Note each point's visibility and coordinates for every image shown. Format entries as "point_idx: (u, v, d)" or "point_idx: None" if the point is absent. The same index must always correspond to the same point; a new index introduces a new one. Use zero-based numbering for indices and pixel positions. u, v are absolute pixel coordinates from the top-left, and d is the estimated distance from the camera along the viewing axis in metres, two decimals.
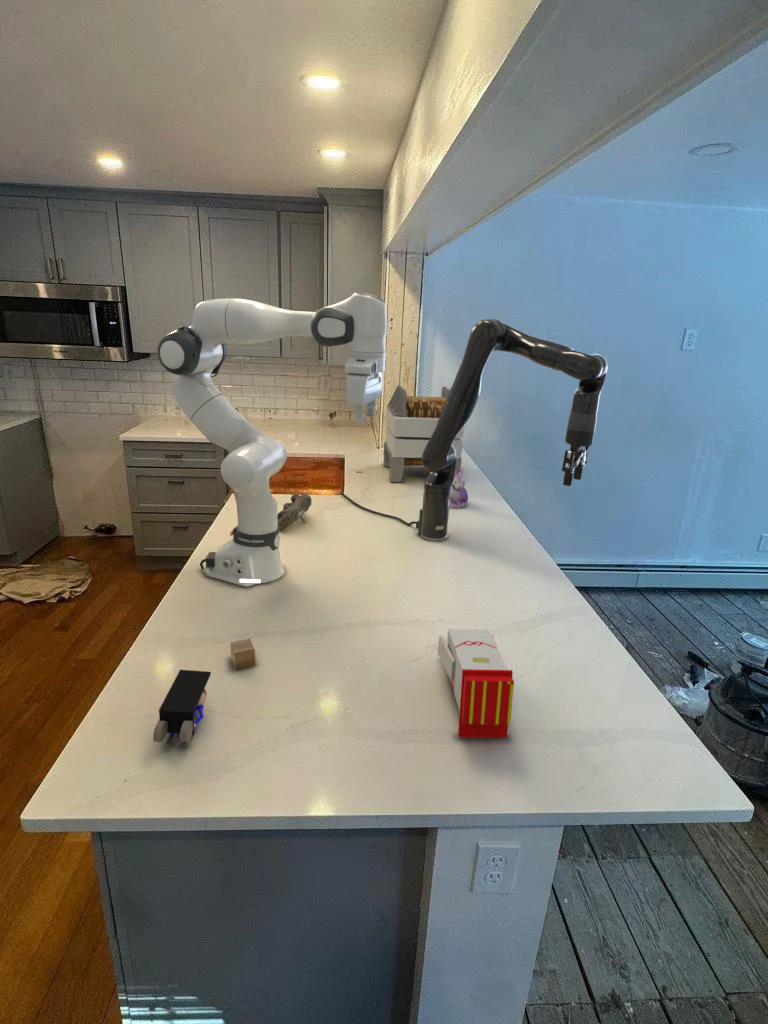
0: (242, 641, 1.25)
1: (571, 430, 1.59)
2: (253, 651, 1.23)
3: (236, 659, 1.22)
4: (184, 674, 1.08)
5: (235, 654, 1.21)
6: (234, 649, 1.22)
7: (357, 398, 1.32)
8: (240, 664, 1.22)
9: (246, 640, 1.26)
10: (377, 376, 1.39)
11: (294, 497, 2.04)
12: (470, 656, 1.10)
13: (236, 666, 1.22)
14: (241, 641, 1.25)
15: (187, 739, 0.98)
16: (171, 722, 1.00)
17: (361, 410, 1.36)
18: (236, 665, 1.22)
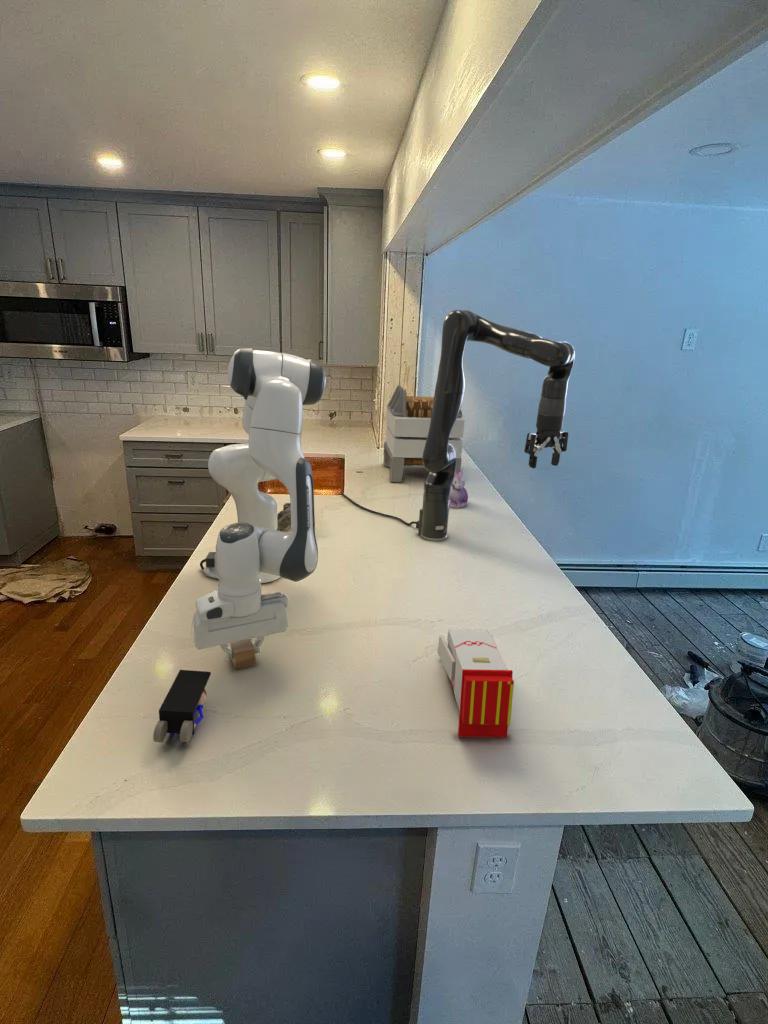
0: (242, 641, 1.25)
1: (538, 415, 1.66)
2: (253, 651, 1.23)
3: (236, 659, 1.22)
4: (184, 674, 1.08)
5: (235, 654, 1.21)
6: (234, 649, 1.22)
7: (193, 639, 1.17)
8: (240, 664, 1.22)
9: (246, 640, 1.26)
10: (239, 618, 1.18)
11: None
12: (470, 656, 1.10)
13: (236, 666, 1.22)
14: (241, 641, 1.25)
15: (187, 739, 0.98)
16: (171, 722, 1.00)
17: (221, 648, 1.21)
18: (236, 665, 1.22)
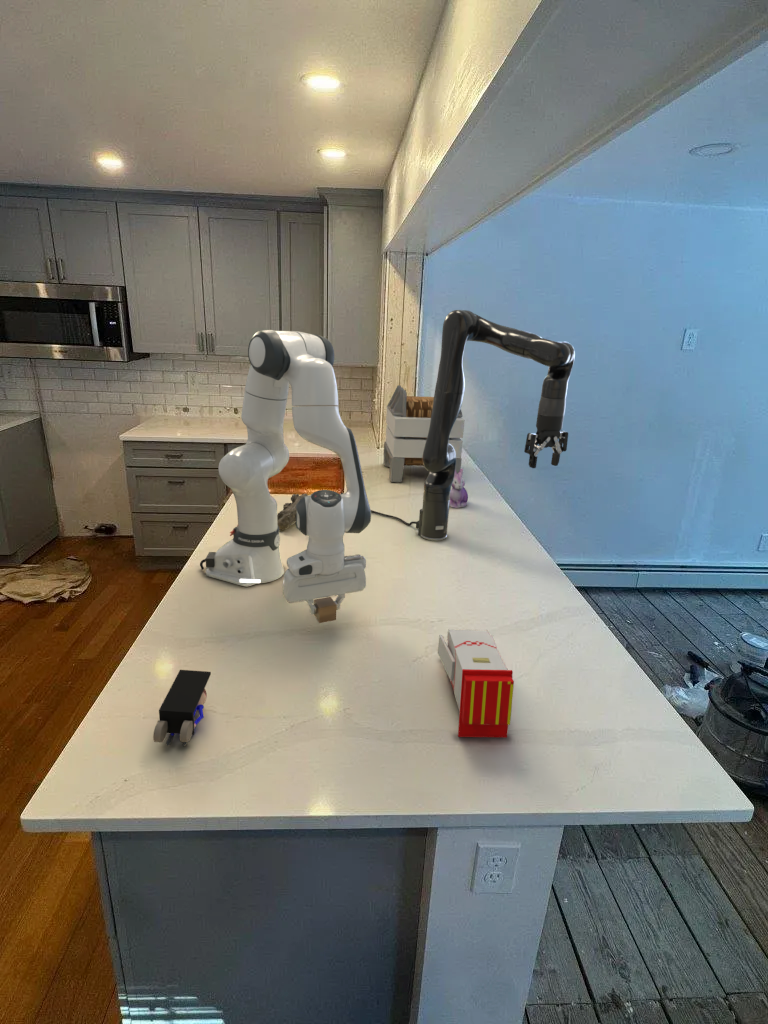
0: (324, 598, 1.39)
1: (538, 415, 1.66)
2: (335, 607, 1.36)
3: (320, 613, 1.35)
4: (184, 674, 1.08)
5: (320, 609, 1.35)
6: (318, 605, 1.36)
7: (285, 594, 1.31)
8: (323, 618, 1.36)
9: (328, 598, 1.39)
10: (326, 576, 1.32)
11: (294, 497, 2.04)
12: (470, 656, 1.10)
13: (320, 620, 1.36)
14: (323, 598, 1.39)
15: (187, 739, 0.98)
16: (171, 722, 1.00)
17: (308, 603, 1.34)
18: (320, 619, 1.36)
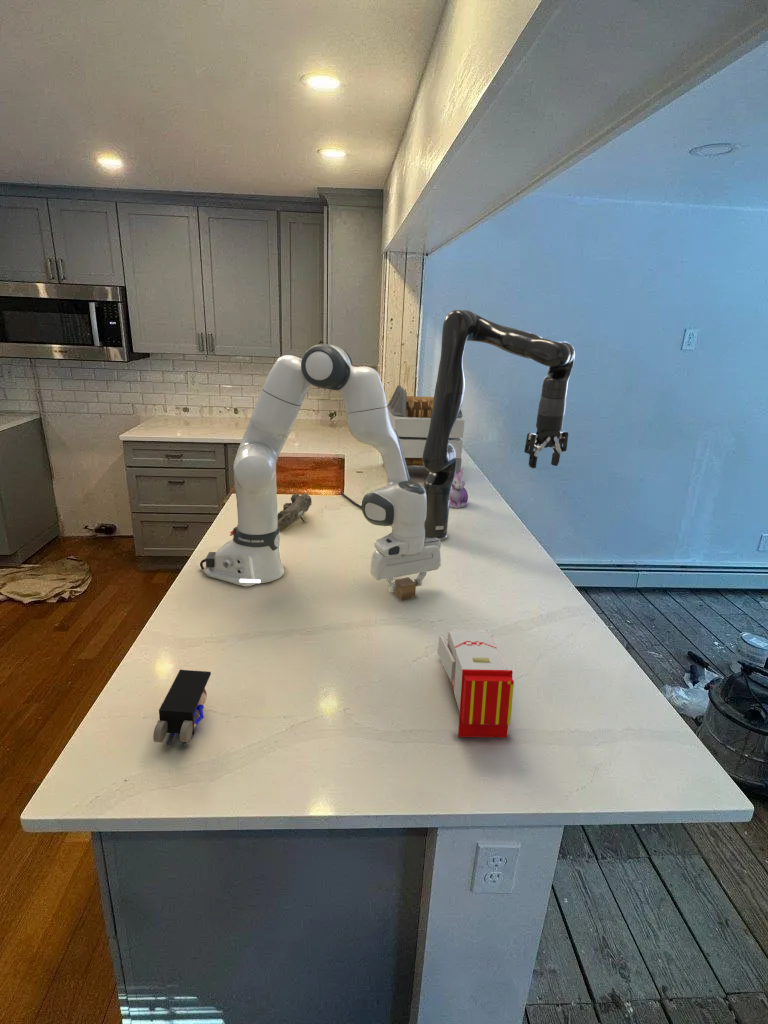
0: (404, 579, 1.57)
1: (538, 415, 1.66)
2: (415, 586, 1.55)
3: (402, 591, 1.54)
4: (184, 674, 1.08)
5: (402, 587, 1.53)
6: (400, 584, 1.54)
7: (374, 572, 1.49)
8: (405, 596, 1.55)
9: (406, 578, 1.58)
10: (409, 556, 1.50)
11: (294, 497, 2.04)
12: (470, 656, 1.10)
13: (402, 597, 1.54)
14: (403, 579, 1.57)
15: (187, 739, 0.98)
16: (171, 722, 1.00)
17: (388, 581, 1.52)
18: (402, 596, 1.54)
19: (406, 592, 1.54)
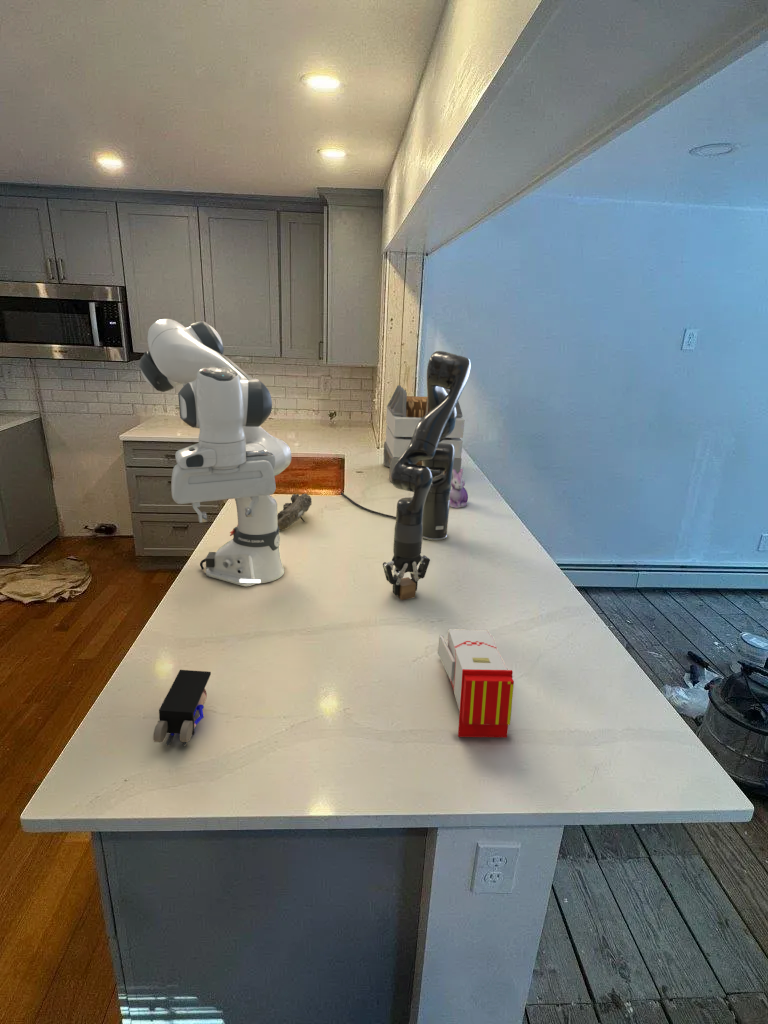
0: (404, 579, 1.57)
1: (394, 539, 1.51)
2: (415, 586, 1.55)
3: (402, 591, 1.54)
4: (184, 674, 1.08)
5: (402, 587, 1.53)
6: (400, 584, 1.54)
7: (172, 493, 1.09)
8: (405, 596, 1.55)
9: (406, 578, 1.58)
10: (222, 471, 1.09)
11: (294, 497, 2.04)
12: (470, 656, 1.10)
13: (402, 597, 1.54)
14: (403, 579, 1.57)
15: (187, 739, 0.98)
16: (171, 722, 1.00)
17: None
18: (402, 596, 1.54)
19: (406, 592, 1.54)
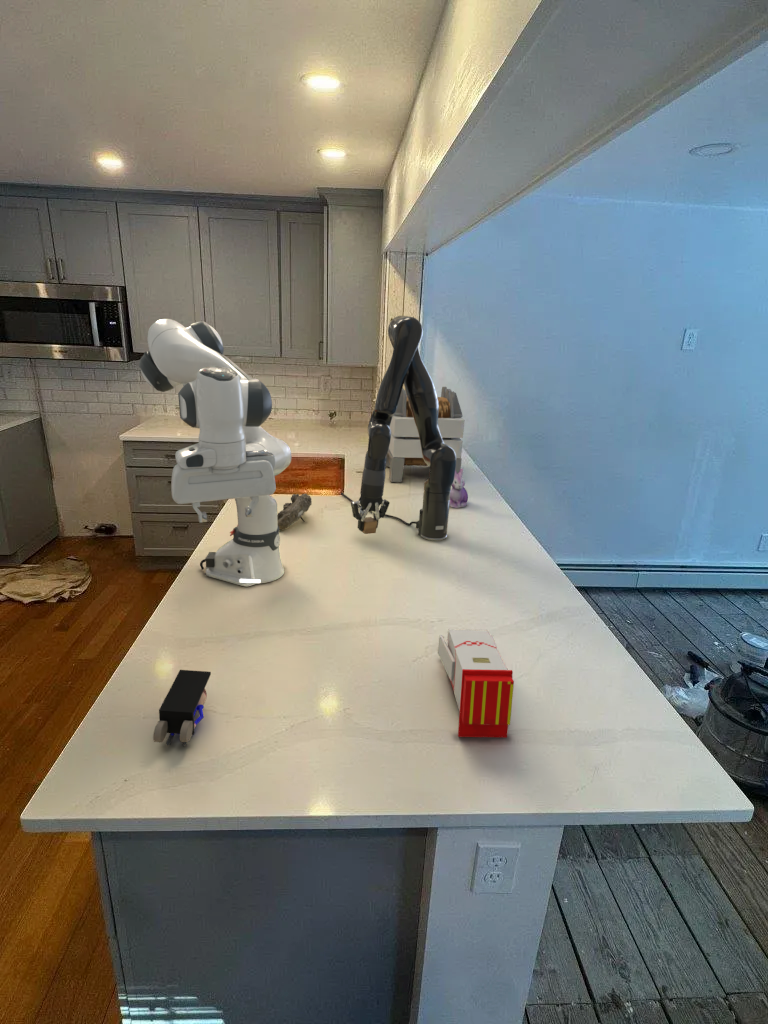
0: (367, 517, 1.92)
1: None
2: (376, 523, 1.89)
3: (366, 527, 1.88)
4: (184, 674, 1.08)
5: (366, 523, 1.87)
6: (364, 520, 1.88)
7: (172, 493, 1.09)
8: (367, 530, 1.89)
9: (369, 517, 1.92)
10: (222, 471, 1.09)
11: (294, 497, 2.04)
12: (470, 656, 1.10)
13: (365, 531, 1.88)
14: (366, 517, 1.91)
15: (187, 739, 0.98)
16: (171, 722, 1.00)
17: None
18: (365, 531, 1.88)
19: (369, 527, 1.89)
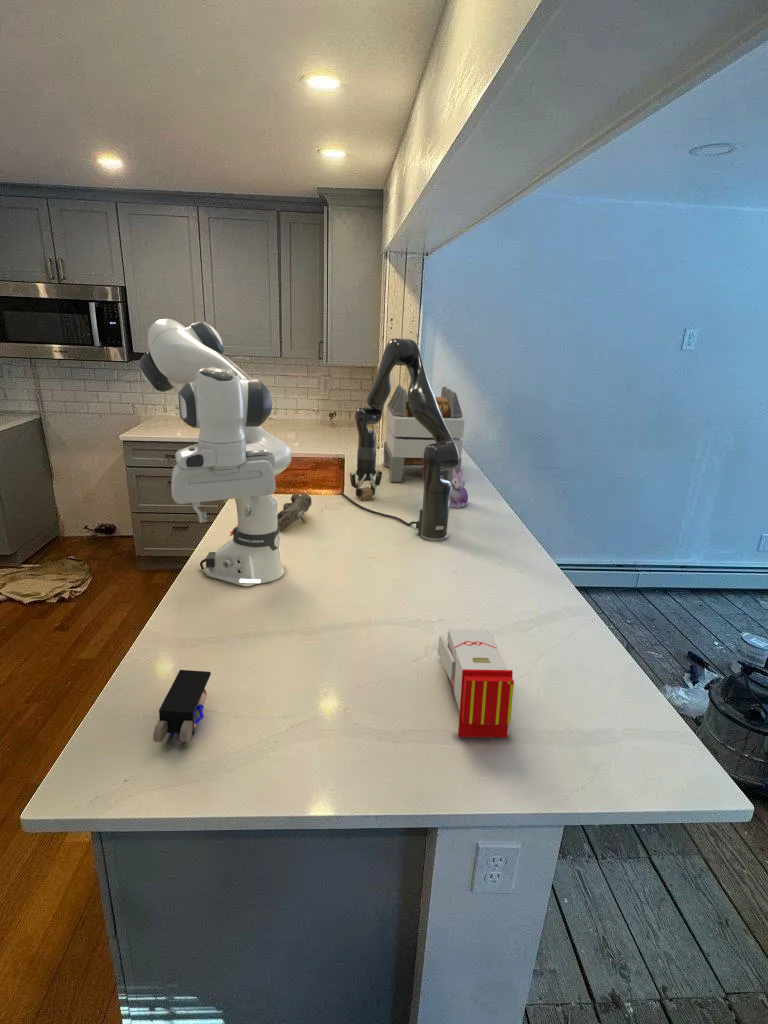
0: (365, 488, 2.35)
1: (357, 457, 2.29)
2: (372, 491, 2.33)
3: (363, 495, 2.31)
4: (184, 674, 1.08)
5: (363, 492, 2.31)
6: (362, 490, 2.32)
7: (172, 493, 1.09)
8: (365, 498, 2.32)
9: (366, 487, 2.35)
10: (222, 471, 1.09)
11: (294, 497, 2.04)
12: (470, 656, 1.10)
13: (363, 499, 2.32)
14: (364, 488, 2.35)
15: (187, 739, 0.98)
16: (171, 722, 1.00)
17: None
18: (363, 498, 2.32)
19: (366, 495, 2.32)
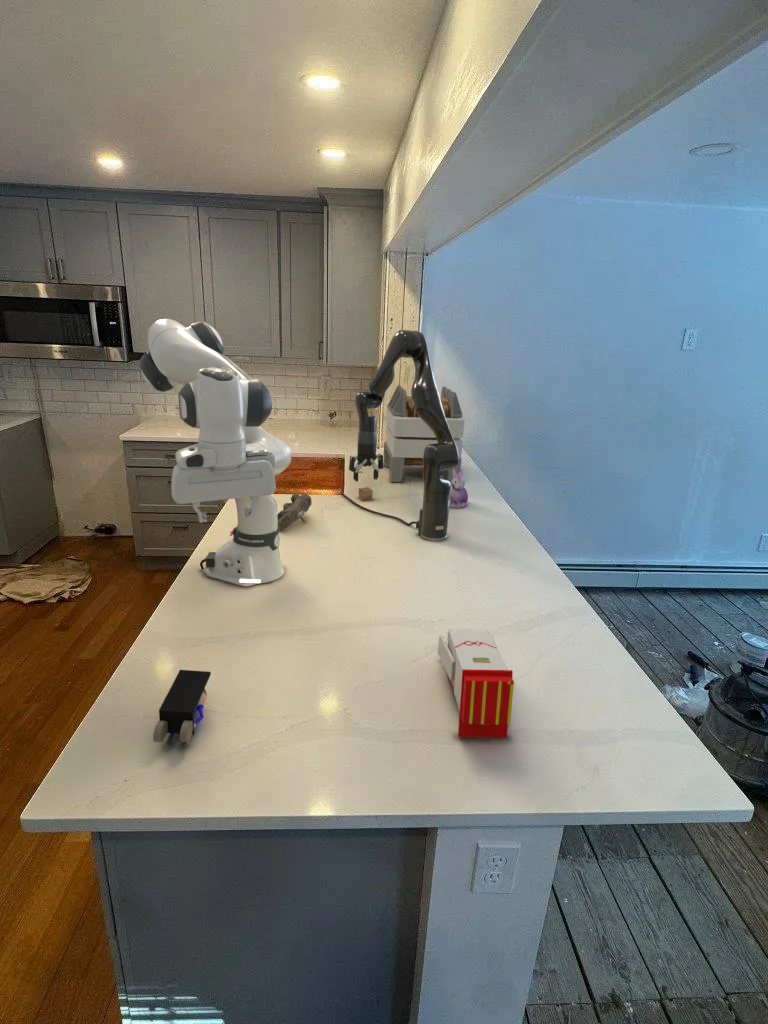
0: (365, 488, 2.35)
1: None
2: (372, 491, 2.33)
3: (363, 495, 2.31)
4: (184, 674, 1.08)
5: (363, 492, 2.31)
6: (362, 490, 2.32)
7: (172, 493, 1.09)
8: (365, 498, 2.32)
9: (366, 487, 2.35)
10: (222, 471, 1.09)
11: (294, 497, 2.04)
12: (470, 656, 1.10)
13: (363, 499, 2.32)
14: (364, 488, 2.35)
15: (187, 739, 0.98)
16: (171, 722, 1.00)
17: None
18: (363, 498, 2.32)
19: (366, 495, 2.32)
